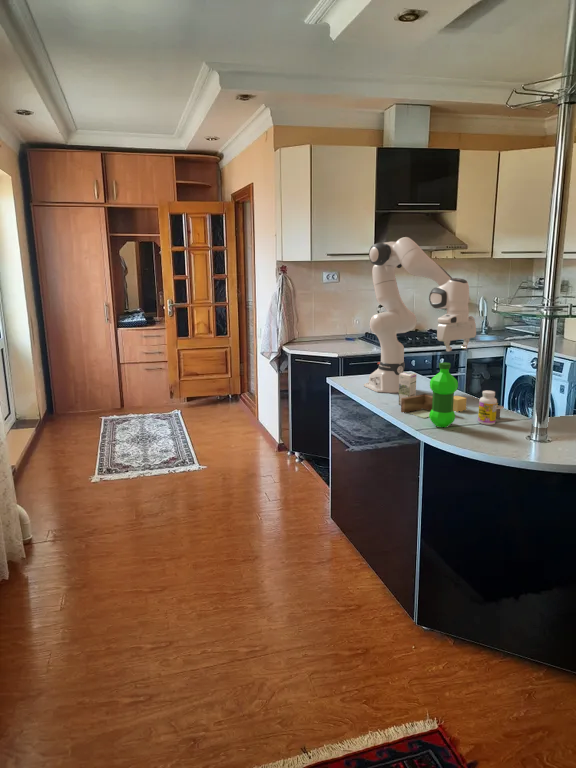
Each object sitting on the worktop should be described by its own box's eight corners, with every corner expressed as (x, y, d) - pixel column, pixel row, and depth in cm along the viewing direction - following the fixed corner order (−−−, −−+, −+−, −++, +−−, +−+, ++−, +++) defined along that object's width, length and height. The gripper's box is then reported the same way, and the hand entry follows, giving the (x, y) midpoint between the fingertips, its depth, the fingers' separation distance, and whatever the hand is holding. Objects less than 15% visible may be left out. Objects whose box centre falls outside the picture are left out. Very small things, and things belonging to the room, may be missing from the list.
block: (447, 409, 243) (447, 397, 242) (456, 407, 246) (456, 395, 245) (456, 412, 239) (457, 400, 238) (465, 410, 242) (466, 398, 240)
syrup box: (416, 404, 252) (417, 373, 248) (409, 407, 247) (410, 375, 244) (404, 402, 255) (406, 371, 252) (397, 405, 251) (398, 373, 248)
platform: (462, 417, 233) (463, 401, 232) (498, 412, 239) (500, 397, 237) (480, 425, 222) (482, 409, 221) (518, 420, 228) (519, 404, 226)
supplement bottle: (474, 422, 224) (476, 391, 221) (484, 419, 228) (486, 388, 225) (489, 426, 219) (491, 394, 216) (498, 423, 223) (501, 391, 220)
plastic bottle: (444, 431, 214) (447, 367, 208) (422, 424, 223) (425, 363, 217) (460, 426, 220) (464, 363, 214) (439, 420, 228) (442, 359, 223)
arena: (400, 411, 241) (401, 398, 239) (423, 407, 247) (424, 393, 246) (427, 420, 228) (427, 406, 226) (450, 415, 234) (451, 401, 233)
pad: (410, 413, 237) (410, 413, 237) (423, 410, 241) (423, 410, 241) (423, 418, 231) (423, 417, 231) (437, 415, 235) (437, 414, 235)
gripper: (468, 315, 243) (467, 346, 246) (434, 318, 233) (434, 351, 236) (480, 316, 238) (479, 348, 241) (446, 319, 228) (445, 353, 231)
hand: (456, 350), depth 238 cm, fingers open, 8 cm apart
